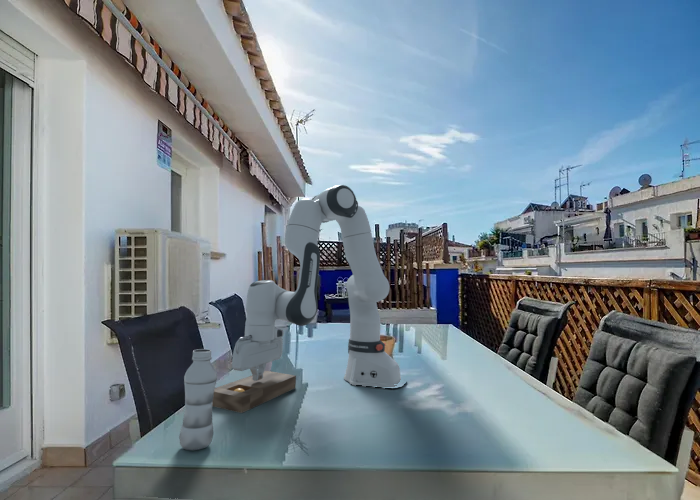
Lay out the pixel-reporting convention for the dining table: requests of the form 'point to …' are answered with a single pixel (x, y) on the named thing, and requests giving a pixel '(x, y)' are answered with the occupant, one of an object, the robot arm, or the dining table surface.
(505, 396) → the dining table surface
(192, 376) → the plastic bottle
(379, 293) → the robot arm
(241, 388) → the ball
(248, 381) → the brown wooden holder
